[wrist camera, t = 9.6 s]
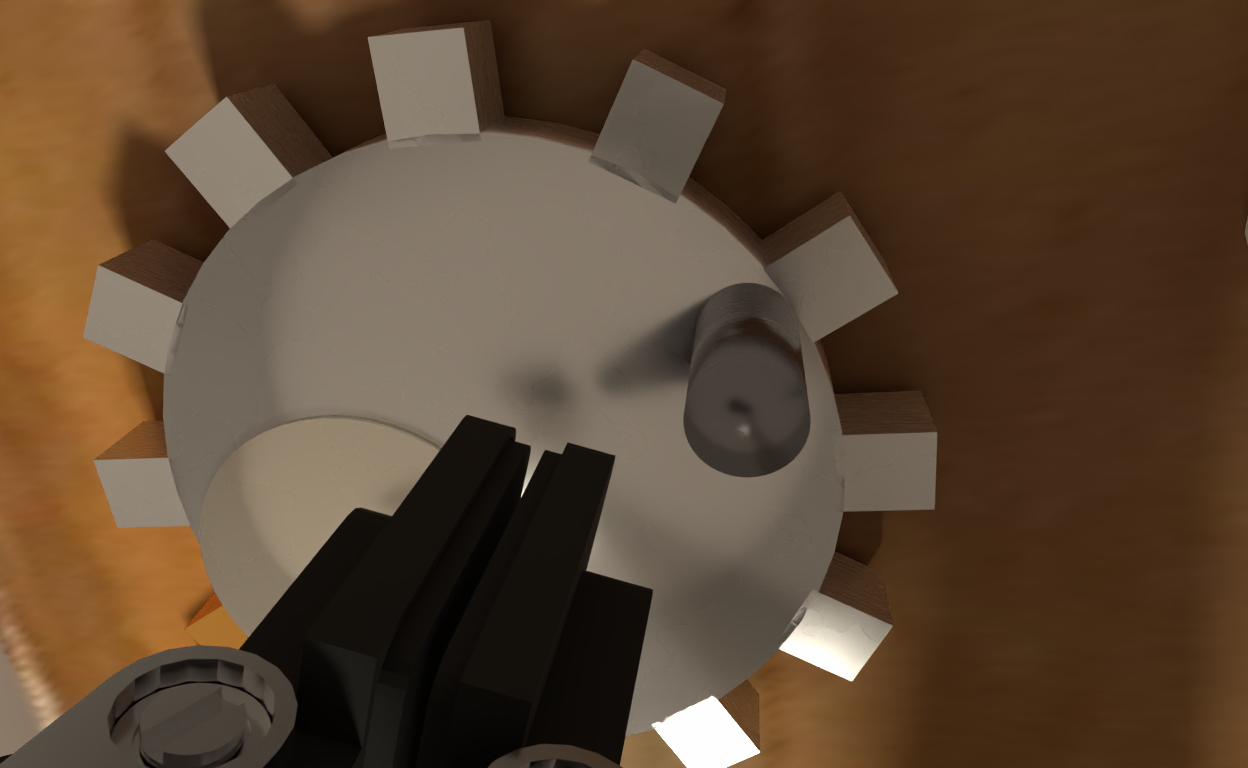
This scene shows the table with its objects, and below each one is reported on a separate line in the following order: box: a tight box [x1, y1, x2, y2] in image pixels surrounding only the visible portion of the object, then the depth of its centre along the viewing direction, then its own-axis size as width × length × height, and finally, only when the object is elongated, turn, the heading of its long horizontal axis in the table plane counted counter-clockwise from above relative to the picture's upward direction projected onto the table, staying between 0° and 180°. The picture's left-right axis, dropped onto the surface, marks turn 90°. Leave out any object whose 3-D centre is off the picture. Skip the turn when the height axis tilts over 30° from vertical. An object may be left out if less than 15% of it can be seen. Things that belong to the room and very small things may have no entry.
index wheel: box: [83, 20, 937, 768], centre depth 20 cm, size 19×19×6 cm
